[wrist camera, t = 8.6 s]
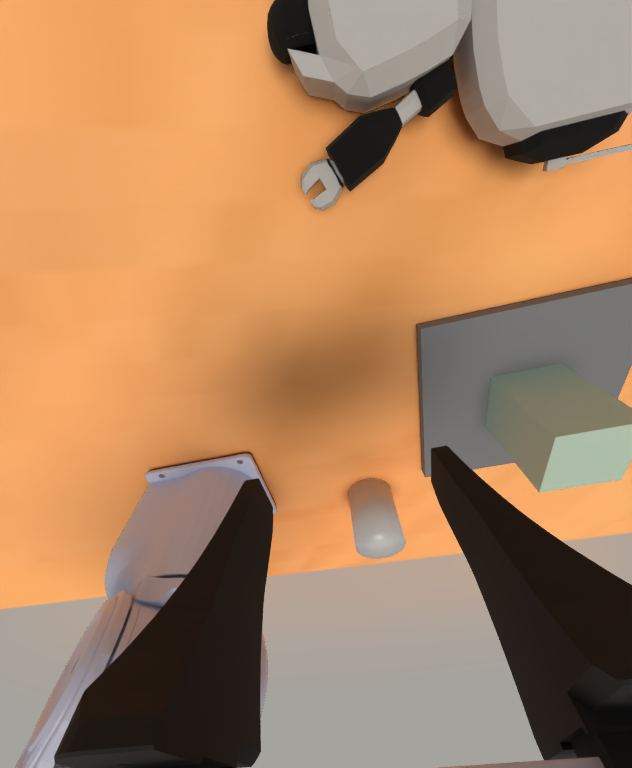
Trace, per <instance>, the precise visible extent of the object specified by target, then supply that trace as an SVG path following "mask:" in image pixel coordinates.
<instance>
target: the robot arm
mask: <svg viewBox="0 0 632 768" xmlns="http://www.w3.org/2000/svg"><path fill="white" fill-rule="evenodd" d="M240 460H242V461H240ZM145 478H146V479H147V481H148V482H149V483H150V484H149V485H148V487H147V489H146V491H145V492H144V494H143V496H142V498H141V499H140V501H139V503H138V505H137V506H136V508H135V510H134V512H133V513H132V515H131V517H130V519H129V521H128V522H127V524H126V526H125V528H124V529H123V531H122V533H121V535H120V536H119V538H118V540H117V542H116V543H115V545H114V547H113V549H112V552H111V554H110V557H109V560H108V564H107V569H106V575H105V589H106V593H107V596H108V600H106V601H105V602H104V603H103V605H102V606H101V607H100V609H99V610H98V612H97V613H96V614H95V616H94V618H93V619H92V621H91V623H90V624H89V626H88V627H87V629H86V631H85V632H84V634H83V636H82V638H81V639H80V641H79V643H78V645H77V647H76V648H75V650H74V652H73V654H72V656H71V657H70V659H69V661H68V663H67V665H66V666H65V668H64V670H63V672H62V674H61V676H60V678H59V680H58V682H57V683H56V685H55V687H54V689H53V691H52V693H51V695H50V697H49V699H48V701H47V703H46V705H45V707H44V709H43V711H42V714H41V716H40V718H39V720H38V722H37V724H36V727H35V729H34V731H33V734H32V736H31V738H30V739H29V741H28V743H27V745H26V747H25V749H24V750H23V752H22V754H21V756H20V758H19V760H18V762H17V764H16V767H15V768H239V767H240V768H241V767H251V766H252V765H253V764H254V763H255V761H256V759H257V758H258V756H259V754H260V752H261V741H260V739H261V738H260V718H261V714H262V710H263V706H264V701H265V696H266V688H267V678H268V677H267V676H268V659H267V651H266V647H265V641H264V637H263V634H262V620H263V602H264V592H265V584H266V577H267V570H268V563H269V556H270V548H271V541H272V533H273V514H274V513H275V512H276V509H277V508H276V505H275V503H274V501H273V499H272V497H271V495H270V493H269V491H268V489H267V487H266V484H265V482H264V480H263V478H262V476H261V474H260V472H259V470H258V468H257V466H256V464H255V462H254V460H253V458H252V456H251V455H250V454H240V455H234V456H229V457H223V458H218V459H212V460H207V461H202V462H196V463H191V464H185V465H180V466H174V467H169V468H163V469H158V470H152V471H148V472H147V474H146V475H145ZM431 482H432V485H433V488H434V490H435V493H436V496H437V499H438V501H439V504H440V506H441V509H442V511H443V513H444V515H445V517H446V519H447V521H448V523H449V525H450V527H451V529H452V531H453V533H454V535H455V537H456V539H457V541H458V543H459V545H460V547H461V549H462V551H463V553H464V555H465V557H466V559H467V561H468V563H469V565H470V567H471V569H472V572H473V574H474V576H475V578H476V581H477V583H478V586H479V588H480V591H481V593H482V596H483V598H484V601H485V603H486V606H487V609H488V611H489V614H490V616H491V619H492V621H493V624H494V627H495V629H496V632H497V635H498V637H499V640H500V642H501V645H502V648H503V651H504V653H505V656H506V659H507V661H508V664H509V667H510V670H511V672H512V675H513V678H514V681H515V683H516V686H517V689H518V692H519V695H520V697H521V700H522V703H523V706H524V709H525V712H526V715H527V717H528V720H529V723H530V726H531V729H532V732H533V735H534V738H535V740H536V742H537V745H538V747H539V749H540V752H541V754H542V757H543V759H544V760H543V761H529V762H514V763H499V764H485V765H470V766H455V767H441V768H632V585H631V584H629V583H627V582H625V581H624V580H622V579H620V578H619V577H617V576H615V575H614V574H612V573H610V572H609V571H607V570H606V569H604V568H602V567H601V566H599V565H598V564H596V563H594V562H593V561H591V560H590V559H588V558H587V557H585V556H583V555H582V554H580V553H579V552H577V551H575V550H574V549H572V548H571V547H569V546H568V545H566V544H565V543H563V542H562V541H560V540H559V539H558V538H556V537H555V536H553V535H552V534H550V533H549V532H547V531H546V530H545V529H543V528H542V527H540V526H539V525H538V524H536V523H535V522H534V521H532V520H531V519H530V518H528V517H527V516H526V515H524V514H523V513H522V512H520V511H519V510H518V509H517V508H515V507H514V506H513V505H512V504H510V503H509V502H508V501H507V500H506V499H504V498H503V497H502V496H501V495H500V494H498V493H497V492H496V491H495V490H494V489H493V488H491V487H490V486H489V485H488V484H487V483H486V482H485V481H484V480H482V479H481V478H480V477H479V476H478V475H477V474H476V473H475V472H474V471H473V470H472V469H471V468H469V467H468V466H467V465H466V464H465V463H464V462H463V461H462V460H461V459H460V458H459V457H458V456H457V455H456V454H455V453H454V452H453V451H452V450H451V449H450V448H449V447H448V446H441V447H435V448H431Z"/></svg>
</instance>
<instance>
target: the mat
mask: <svg viewBox="0 0 632 768" xmlns="http://www.w3.org/2000/svg"><path fill="white" fill-rule="evenodd" d="M417 347H418V374H419V401H420V429H421V456H422V471H423V473H424V476H425V477H429V476H431V448H435V447H441V446H448V447H449V448H450V449H451V450H452V451H453V452H454V453H455V454H456V455H457V456H458V457H459V458H460V459H461V460H462V461H463V462H464V463H465V464H466V465H467V466H468V467H469V468H471V469H478V468H484V467H490V466H496V465H502V464H508V463H515V462H514V461H513V459H512V458H511V457H510V456H509V454H508V453H507V452H506V451H505V449H504V448H503V447H502V446H501V444H500V443H499V442H498V441H497V439H496V438H495V437H494V436H493V434H492V433H491V432H490V431H489V430H488V428H487V427H486V420H487V411H488V403H489V394H490V386H491V377H495V376H500V375H505V374H510V373H515V372H521V371H526V370H531V369H536V368H541V367H546V366H551V365H556V364H562V365H564V366H565V367H567V368H569V369H570V370H572V371H573V372H575V373H577V374H578V375H580V376H581V377H583V378H585V379H586V380H588V381H589V382H591V383H592V384H594V385H596V386H597V387H599V388H600V389H602V390H604V391H605V392H607V393H608V394H610V395H612V396H613V397H615V398H616V399H618V396H619V394H620V392H621V389H622V387H623V384H624V382H625V380H626V377H627V375H628V372H629V370H630V368H631V365H632V278H630V279H625V280H620V281H616V282H611V283H606V284H602V285H597V286H592V287H588V288H583V289H579V290H574V291H569V292H565V293H560V294H555V295H551V296H546V297H541V298H537V299H532V300H527V301H523V302H518V303H514V304H509V305H504V306H500V307H495V308H490V309H486V310H481V311H476V312H472V313H467V314H463V315H458V316H453V317H449V318H444V319H439V320H435V321H430V322H425V323H421V324H417Z"/></svg>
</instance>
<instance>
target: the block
mask: <svg viewBox="0 0 632 768" xmlns="http://www.w3.org/2000/svg"><path fill="white" fill-rule="evenodd" d="M486 427H487V428H488V430H489V431H490V432H491V433H492V434H493V436H494V437H495V438H496V439H497V441H498V442H499V443H500V444H501V446H502V447H503V448H504V449H505V451H506V452H507V453H508V454H509V456H510V457H511V458H512V459H513V461H514V462H515V463H516V464H517V466H518V467H519V468H520V469H521V471H522V472H523V473H524V474H525V476H526V477H527V478H528V479H529V480H530V482H531V483H532V484H533V485H534V487H535V488H536V489H537V490H538V492H546V491H552V490H559V489H565V488H571V487H578V486H584V485H591V484H597V483H603V482H610V481H616V480H621V479H622V477H623V475H624V473H625V471H626V469H627V468H628V466H629V464H630V462H631V460H632V408H631V407H629V406H628V405H626V404H624V403H623V402H621V401H620V400H618V399H616V398H615V397H613V396H612V395H610V394H608V393H607V392H605V391H604V390H602V389H600V388H599V387H597V386H596V385H594V384H592V383H591V382H589V381H588V380H586V379H585V378H583V377H581V376H580V375H578V374H577V373H575V372H573V371H572V370H570V369H569V368H567V367H565V366H564V365H562V364H556V365H551V366H546V367H541V368H536V369H531V370H526V371H521V372H515V373H510V374H505V375H500V376H495V377H491V386H490V394H489V403H488V411H487V420H486Z"/></svg>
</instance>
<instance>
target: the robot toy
mask: <svg viewBox="0 0 632 768" xmlns="http://www.w3.org/2000/svg"><path fill="white" fill-rule="evenodd" d="M267 30H268V39H269V43H270V46H271V49H272V51H273V53H274V55H275V57H276V58H277V59H278V60H280V61H281V62H282V63H284V64H292V65H293V68H294V71H295V74H296V75H297V77H298V79H299V81H300V82H301V84H302V86H303V87H304V89H305V91H306V92H307V94H308V95H310V96H315V97H320V98H325V99H330V100H334V101H335V102H336V103H338V104H339V105H340V106H341V107H342V108H343V109H345V110H348V111H355V112H361V113H366V112H369V111H371V110H373V109H376V108H378V107H380V106H383V105H385V104H387V103H390V102H392V101H394V100H396V99H398V98H400V97H402V96H404V95H406V94H407V93H408V94H407V95H406V96H405V97H404V98H403V99H402V100H401V101H400V102H399V103H397V104H396V105H395V106H394V107H393V108H388V109H383V110H379V111H375V112H372V113H368V114H365V115H361V116H359V117H358V118H357V119H356V120H355V121H354V122H353V123H352V124H351V125H350V126H349V127H348V128H347V129H345V130H344V131H343V132H342V133H341V134H340V135H339V136H338V137H337V138H336V139H335V140H334V141H333V142H332V143H331V144H330V145H329V146H328V147H326V150H327V152H328V155H329V157H330V159H325V160H321V161H316V162H312V163H310V164H309V166H308V167H307V169H306V170H305V172H304V173H303V175H302V176H301V187H302V189H303V191H304V192H305V194H306V195H307V193H308V192H309V190H310V189H311V188H312V187H313V186H314V185H315V184H316V183H317V182H318V181H319V180H321V181H322V183H323V185H324V186H325V188H326V190H325V191H323V192H322V193H321V194H320V195H318V196H317V197H316V198H315V199H312V200H310V202H311V204H312V205H313V207H314V208H316V209H319V210H324V209H326V208H328V207H330V206H332V205H334V204H335V203H336V201H337V199H338V197H339V195H340V193H341V190H342V188H343V185H344V183H345V185H346V187H347V188H348V190H349V191H351V190H353V189H354V188H355V187H356V186H357V185H358V184H360V183H361V182H362V181H363V180H364V179H366V178H367V177H368V176H369V175H370V174H371V173H373V172H374V171H375V170H376V169H377V168H378V167H380V166H381V165H382V164H383V163H384V161H385V159H386V157H387V156H388V154H389V152H390V150H391V148H392V146H393V145H394V143H395V141H396V139H397V136H398V134H399V132H400V130H401V128H402V127H403V126H404V125H405V124H406V123H407V122H409V121H410V120H411V119H412V118H413V117H414V116H415V115H417V114H419V115H421V116H423V117H429V116H430V115H431V114H432V113H434V112H435V111H436V110H437V109H438V108H439V107H441V106H442V105H443V104H444V103H445V102H446V101H448V100H449V99H450V98H451V97H452V96H453V95H454V92H455V90H456V88H457V86H458V92H459V97H460V102H461V105H462V109H463V112H464V115H465V118H466V119H467V121H468V123H469V124H470V126H471V128H472V129H473V131H474V132H475V134H476V136H477V137H478V139H480V140H483V141H486V142H490V143H493V144H496V145H500V146H503V149H504V154H505V158H508V159H511V160H515V161H519V162H524V163H528V164H534V163H539V162H544V166H543V171H550V170H554V169H559V168H564V167H565V164H570V163H574V162H579V161H584V160H588V159H593V158H597V157H602V156H606V155H611V154H616V153H620V152H625V151H629V150H632V144H629V145H625V146H620V147H616V148H611V149H607V150H602V151H598V152H593V153H589V154H584V155H580V156H575V157H571V158H567V156H571V155H575V154H579V153H583V152H584V151H586V150H588V149H589V148H591V147H593V146H594V145H596V144H598V143H599V142H601V141H603V140H604V139H606V138H608V137H609V136H611V135H613V134H614V133H616V132H617V131H619V129H620V127H621V126H622V124H623V122H624V120H625V119H626V117H627V115H628V114H630V113H631V112H632V0H275V1H274V2H273V4H272V6H271V7H270V10H269V13H268V21H267ZM452 55H453V59H454V70H455V76H456V81H457V85H456V81H455V76H454V72H453V69H452V67H451V64H450V61H449V58H450V57H451V56H452Z"/></svg>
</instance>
